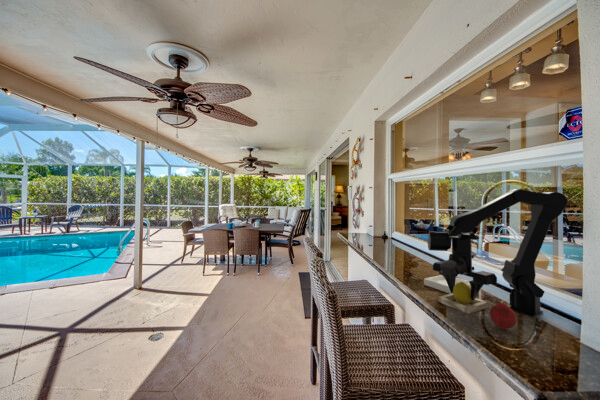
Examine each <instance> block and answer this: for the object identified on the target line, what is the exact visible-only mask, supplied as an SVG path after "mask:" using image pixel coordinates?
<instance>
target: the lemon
mask: <svg viewBox="0 0 600 400" xmlns="http://www.w3.org/2000/svg"><path fill="white" fill-rule="evenodd" d="M453 295H454V298H455V299H454V300H456V302H457V303H460V304H462V305H465V304H468V303H470V301H471V289H470V287H469V286H468V285H467V284H465V283H464V282H459V283H457V284H455V286H454V288H453Z"/></svg>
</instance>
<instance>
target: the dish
mask: <svg viewBox="0 0 600 400" xmlns="http://www.w3.org/2000/svg"><path fill="white" fill-rule="evenodd" d="M459 282H464V283H465V284H467V285H468V286H469V287H470V289H471V285H470V283H469V280H465V279H462V278H458V277H456V281H455V284H457V283H459ZM423 283H424V286H427V287H430V288H433V289H436V290H438V291H441V292H444V293H447V294H451V291H450V289H449V286H448V284H447V282H446V280H445V278H444V277H443V276H442V275H441V274H438V275H435V276H430V277H425V278H424V282H423Z"/></svg>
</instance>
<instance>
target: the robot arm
mask: <svg viewBox="0 0 600 400" xmlns="http://www.w3.org/2000/svg"><path fill="white" fill-rule="evenodd" d="M519 203H521V204H525V205H530V208H529V210H530V214H531V217H530V218H531V219H530V221H529V224H528V226H527V228H526V231H525V233H524V236H523V237H522V239H521V240H522V241H521V243H520V246H519V248H518V251H517V252H516V256H515V257H514V258H513V259H511V261H510V260H508V259H505V261H504V266H503V267H502V268H501V269H500V271H501V272H502V273H501V274H502V275H501V276H502V278H503V279H504V281H505V282H507V283H508V285H509V287H510V288H512V289H511V290H510V293H509V307H510V308H511V309H512V310H513V311H515V312H518V313H520V314H523V315H526V316H529V317H532V318H533V317H536V316H538V315H541V314H544V310H541V298H543V296H544V295H545V291H544V289H542V288H541V287H540V286H538V284H536V283H535V280H536V275H537V274H536V268H535V267H536V266H535V263H536V260H537V258H538V256H539V254H540V252H541V249H542V247H543V244H544V242H545V239H546V237H547V234H548V232H549V229H550V227H551V224H552V223H553V221H555V220H556V219H557V218H559V216H561V215H562V214H563V212H564V211H565V209H566V208H567V206H568V205H569V198H567V197H566V196H565V195H564V194H563V193H561V192H558V191H557V192H556V191H553V192H552V191H551V192H550V191H548V192H547V191H546V192H545V191H544V192H539V191H531V190H525V189H521V188H519V189H518V188H517V189H511V190H509V191H508V192H506V193H504V194H502V195H500V196H499V197H497V198H495V199H492V200H491V201H489V202H486V203H485V204H484V205H481V206H479V207H478V208H476V209H473V210H470V211H466V212H461V213H459V214H457V215H454V216H452V217H451V218H450V219H449V220H450V221H449V224H448V226H447V227H446V228H445V229H444V230H443V231H433V230H428V237H427V249H428V251H438V252H439V251H440V252H448V251H449V250H451V253H449V255H448V259H447V260H445V261H444V260H441V261H437V262H433V264H432V271H435V272H438V275H442V276H443V277H444V278H445V280H446V282H447V284H448V286H449V289H450V291H451V293H453V288H454V286H455V281H456V278H457V277H458V275H461V276H467V277H470V278H472V280H470V281H469V280H468V281H469V283H470V285H471V300H472V301H473V300H475V298H477V296H478V295H479V293H480V291H481V289H482V287H484V286H489V285H492V284H493V285H494V284H497V283H498V277H497V276H496V274H495V273H493V272H490V271H486V270H481V271H475V266H473V259H474V258H475V255H474V254H472V253H473V252H472V249H473V248H472V247H473V246H472V244H473V243H472V240H474V241H475V240H476V241H477V240H479V239H480V237H478V236H477V235H476V234H475V233H474V232H473V230H474V229H475V228H477V227H479V225H480V224H481V223H482V222H483V221H485V220H486V219H488V218H490V217H492V216H494V215H496V214H498V213H500V212H502V211H504V210H506V209H508V208H510V207H512V206H514V205H516V204H519Z"/></svg>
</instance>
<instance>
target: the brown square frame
mask: <svg viewBox="0 0 600 400" xmlns="http://www.w3.org/2000/svg"><path fill="white" fill-rule="evenodd" d="M454 300H456V299H455V298H454V295H453V293H451V294H449V293H447V294H444V295H440V296H438V300H437V301H438V303H441V304H443V305H446V306H448V307H450V308H452V309H455V310H458V311H460V312H462V313H465V314H466V315H470V314H474V313H475V312H478V311H479V312H480V311H482V310H486V309H488V308H489V302H488V301H485V300H483V299H479V298H477V297H476V298H475V300H473V301H472V300H471V301H470V302H469V303H470V305H465V304H464V305H462V304H461V303H460V302H458V301H454Z"/></svg>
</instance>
